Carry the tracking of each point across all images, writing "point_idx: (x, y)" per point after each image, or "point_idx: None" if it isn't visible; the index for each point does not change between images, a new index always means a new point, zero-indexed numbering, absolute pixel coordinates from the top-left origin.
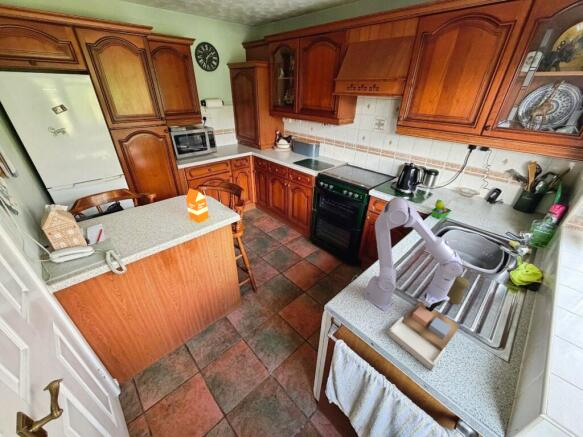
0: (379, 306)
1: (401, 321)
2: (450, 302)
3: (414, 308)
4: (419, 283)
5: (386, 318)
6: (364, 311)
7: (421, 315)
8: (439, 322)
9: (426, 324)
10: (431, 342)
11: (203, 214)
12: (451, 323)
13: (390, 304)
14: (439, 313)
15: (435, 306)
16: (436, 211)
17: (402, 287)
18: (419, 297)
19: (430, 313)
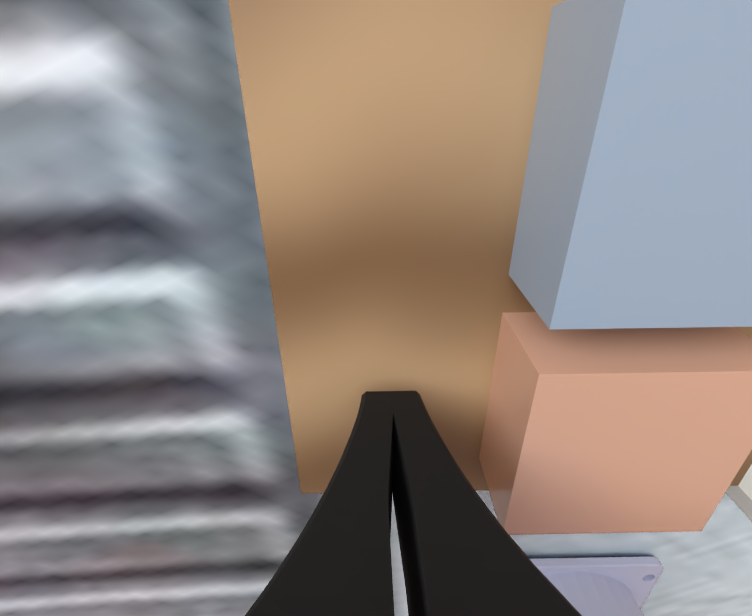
0: (644, 591)
1: (748, 470)
2: None
3: (484, 486)
4: (54, 543)
5: (719, 513)
6: (744, 600)
7: (683, 468)
8: (658, 241)
9: (740, 336)
10: None
11: None
12: (313, 62)
13: (558, 566)
14: (287, 292)
15: (537, 573)
16: None
17: (263, 583)
18: (223, 478)
19: (541, 417)
